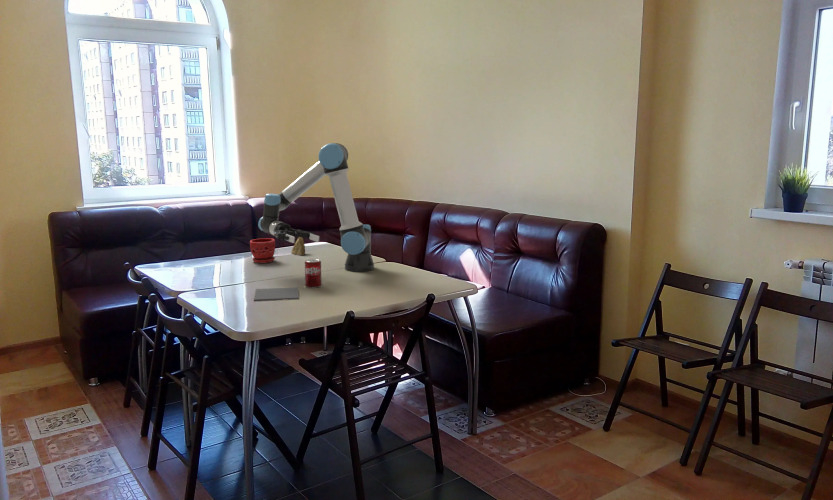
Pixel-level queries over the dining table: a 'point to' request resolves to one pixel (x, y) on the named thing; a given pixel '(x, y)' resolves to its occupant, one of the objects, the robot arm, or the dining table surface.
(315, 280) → the soda can
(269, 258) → the plant pot
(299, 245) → the rock
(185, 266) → the dining table surface
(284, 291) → the mat
